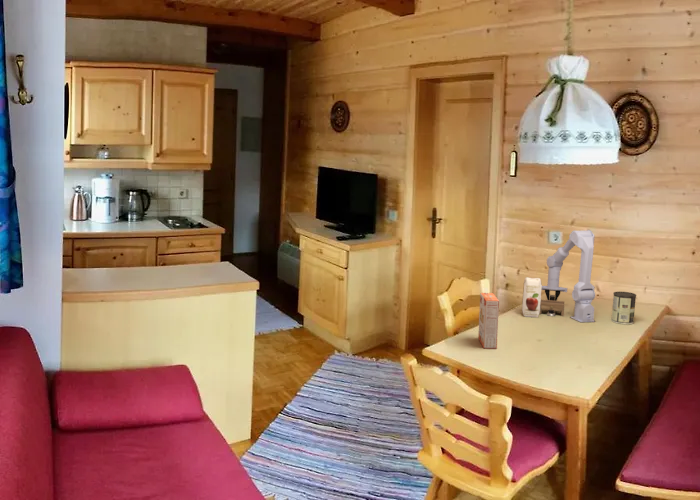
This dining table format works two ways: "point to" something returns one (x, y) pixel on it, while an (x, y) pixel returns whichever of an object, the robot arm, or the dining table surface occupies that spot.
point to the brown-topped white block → (552, 297)
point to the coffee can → (623, 307)
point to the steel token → (550, 314)
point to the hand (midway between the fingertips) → (551, 304)
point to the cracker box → (488, 320)
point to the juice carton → (531, 297)
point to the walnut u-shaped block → (552, 306)
